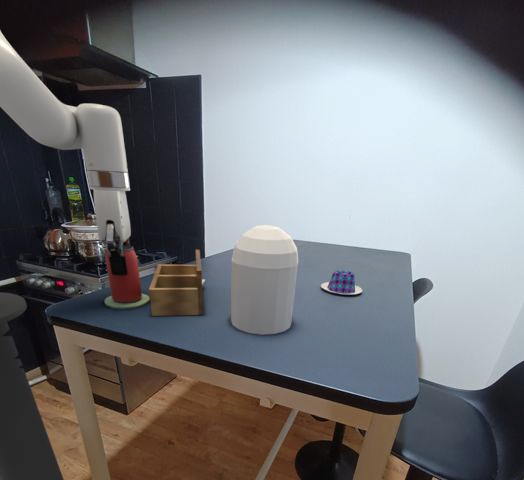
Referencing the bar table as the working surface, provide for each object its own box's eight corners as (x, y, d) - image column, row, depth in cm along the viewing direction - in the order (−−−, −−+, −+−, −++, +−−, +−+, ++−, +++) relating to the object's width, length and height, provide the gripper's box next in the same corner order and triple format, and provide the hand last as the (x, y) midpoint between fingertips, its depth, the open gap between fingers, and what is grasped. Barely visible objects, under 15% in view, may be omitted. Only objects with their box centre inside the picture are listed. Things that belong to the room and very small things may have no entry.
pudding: (358, 285, 98) (361, 268, 96) (365, 298, 88) (369, 280, 85) (319, 282, 99) (321, 265, 96) (321, 294, 88) (324, 276, 86)
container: (299, 317, 73) (310, 225, 64) (280, 340, 62) (290, 233, 53) (246, 306, 77) (249, 218, 68) (219, 326, 66) (218, 224, 57)
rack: (151, 316, 69) (146, 270, 64) (160, 286, 87) (156, 248, 82) (203, 314, 71) (201, 270, 66) (200, 286, 89) (199, 249, 84)
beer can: (147, 299, 76) (142, 248, 71) (123, 306, 72) (115, 251, 66) (130, 292, 80) (123, 243, 74) (106, 299, 75) (97, 246, 69)
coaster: (100, 309, 71) (99, 307, 70) (109, 294, 79) (109, 292, 79) (147, 308, 73) (146, 306, 72) (151, 294, 81) (151, 292, 81)
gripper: (99, 179, 70) (113, 261, 79) (75, 181, 56) (95, 281, 64) (135, 181, 72) (145, 261, 80) (120, 184, 57) (134, 281, 66)
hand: (123, 269), depth 72 cm, fingers closed on beer can, 6 cm apart
